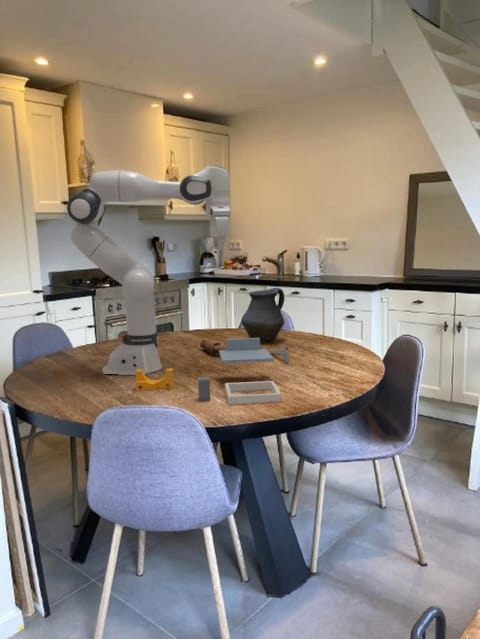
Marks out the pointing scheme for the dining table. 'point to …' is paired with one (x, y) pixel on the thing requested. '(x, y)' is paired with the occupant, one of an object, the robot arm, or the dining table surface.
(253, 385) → the frame
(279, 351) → the caliper
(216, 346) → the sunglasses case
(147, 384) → the pipe clamp
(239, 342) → the lid
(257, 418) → the dining table surface
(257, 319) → the pitcher
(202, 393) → the dark grey block
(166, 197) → the robot arm
